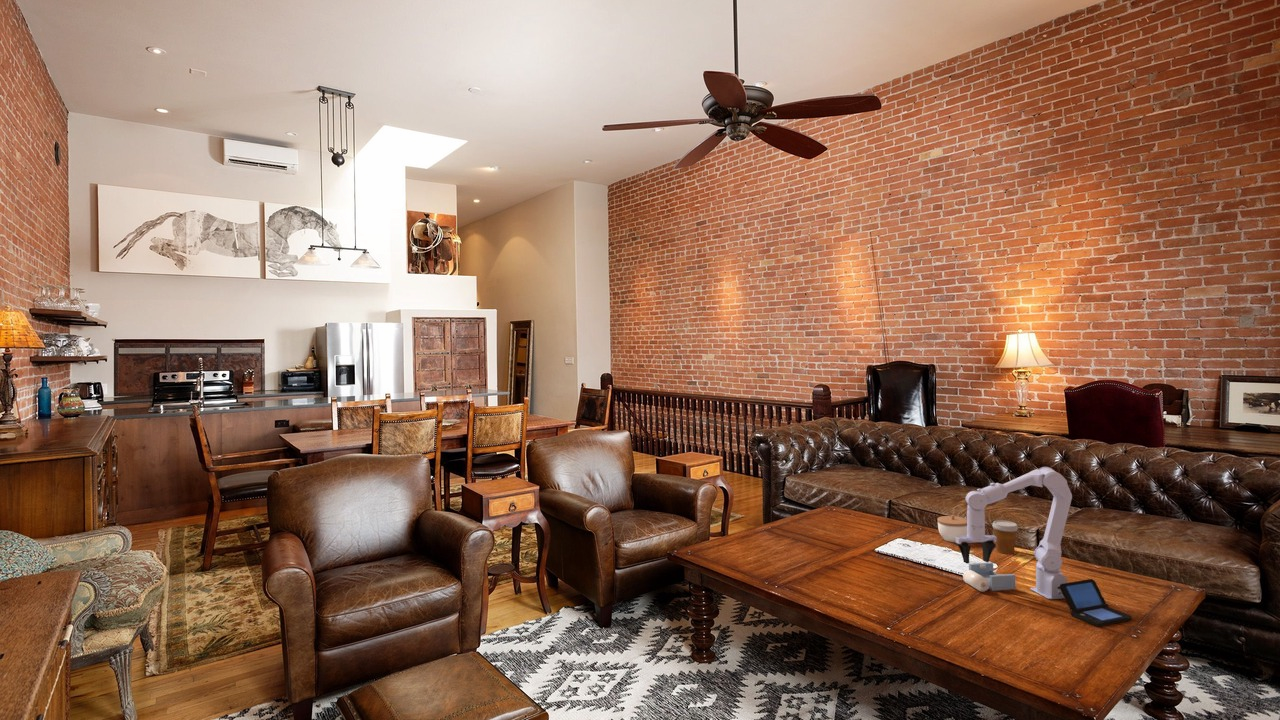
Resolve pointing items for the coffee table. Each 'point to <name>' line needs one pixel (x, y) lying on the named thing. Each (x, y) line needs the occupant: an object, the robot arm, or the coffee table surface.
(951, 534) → the lidded bowl
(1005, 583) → the holder
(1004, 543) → the disposable coffee cup
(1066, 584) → the game console
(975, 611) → the coffee table surface
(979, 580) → the roll
